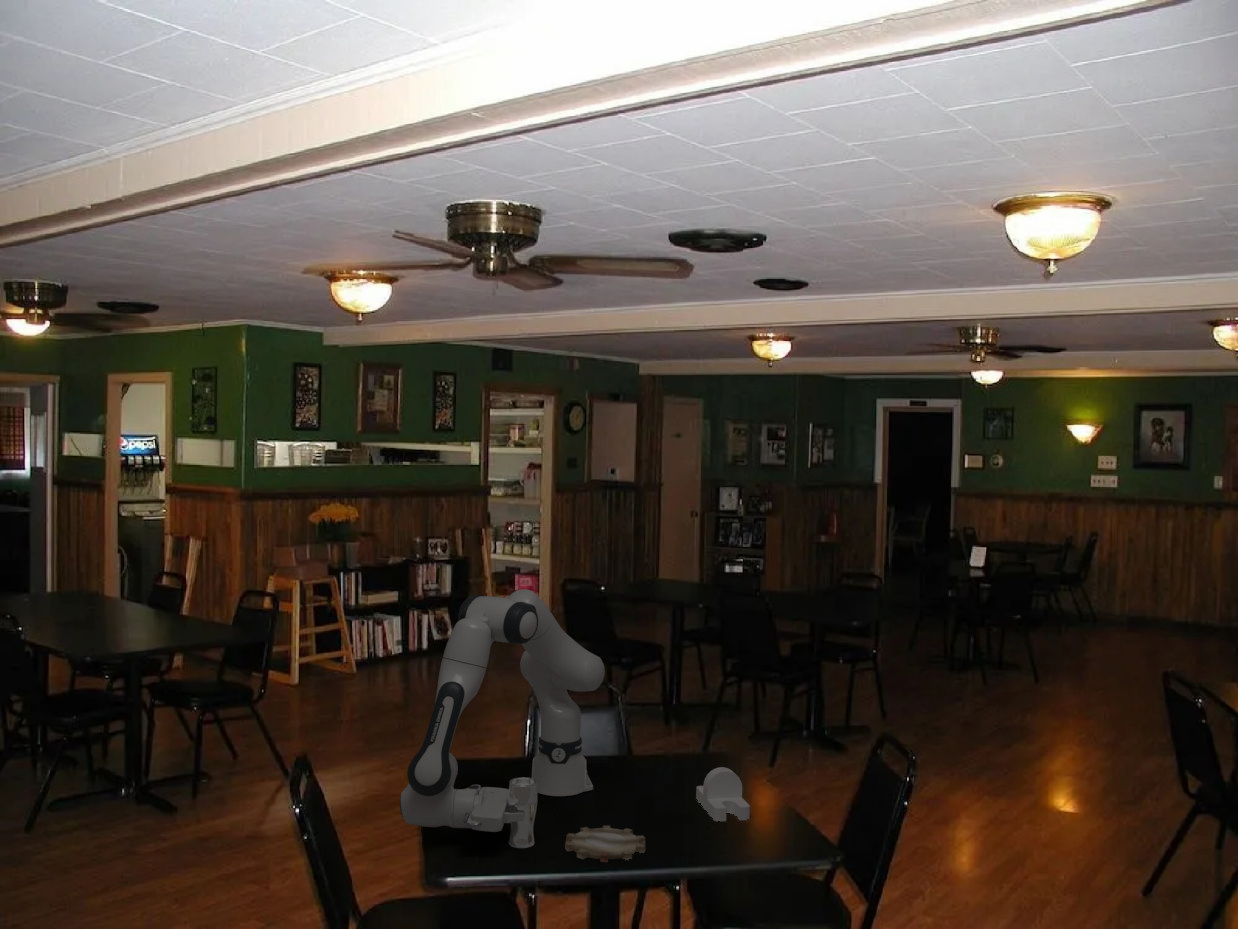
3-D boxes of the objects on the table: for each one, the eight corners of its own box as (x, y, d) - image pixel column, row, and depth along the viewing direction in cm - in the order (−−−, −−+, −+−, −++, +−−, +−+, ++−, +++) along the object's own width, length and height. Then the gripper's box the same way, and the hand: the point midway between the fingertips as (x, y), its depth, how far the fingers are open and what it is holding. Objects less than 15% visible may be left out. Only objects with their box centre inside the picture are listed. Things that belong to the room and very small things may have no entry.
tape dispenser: (714, 822, 281) (716, 781, 281) (695, 799, 299) (696, 760, 299) (750, 820, 283) (751, 779, 283) (728, 797, 301) (729, 758, 301)
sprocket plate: (568, 830, 272) (568, 824, 272) (644, 832, 272) (645, 826, 272) (562, 861, 253) (563, 854, 253) (645, 863, 253) (645, 857, 253)
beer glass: (501, 843, 263) (502, 781, 262) (523, 836, 268) (525, 775, 267) (519, 851, 258) (521, 788, 258) (542, 844, 263) (543, 782, 262)
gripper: (461, 810, 252) (521, 812, 252) (474, 782, 273) (530, 784, 273) (461, 838, 253) (521, 840, 252) (474, 807, 273) (529, 809, 273)
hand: (526, 810), depth 263 cm, fingers closed on beer glass, 6 cm apart
